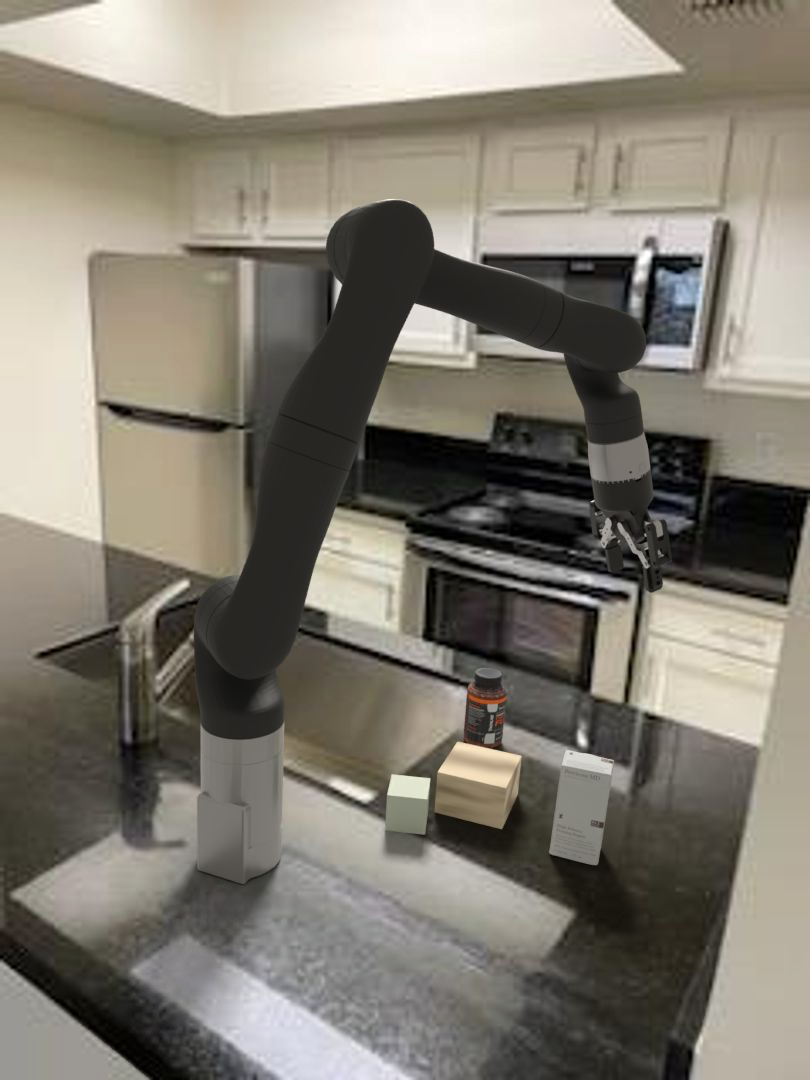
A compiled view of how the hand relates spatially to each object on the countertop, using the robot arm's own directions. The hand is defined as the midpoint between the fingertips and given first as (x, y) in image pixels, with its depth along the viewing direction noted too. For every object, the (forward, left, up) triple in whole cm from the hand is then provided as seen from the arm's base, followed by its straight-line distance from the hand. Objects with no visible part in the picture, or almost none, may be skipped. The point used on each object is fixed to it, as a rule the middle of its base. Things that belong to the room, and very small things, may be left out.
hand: (634, 580), depth 114 cm
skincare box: (-21, +1, -29) cm, 36 cm away
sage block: (-24, +22, -29) cm, 44 cm away
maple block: (-16, +15, -29) cm, 37 cm away
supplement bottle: (+1, +19, -29) cm, 35 cm away
